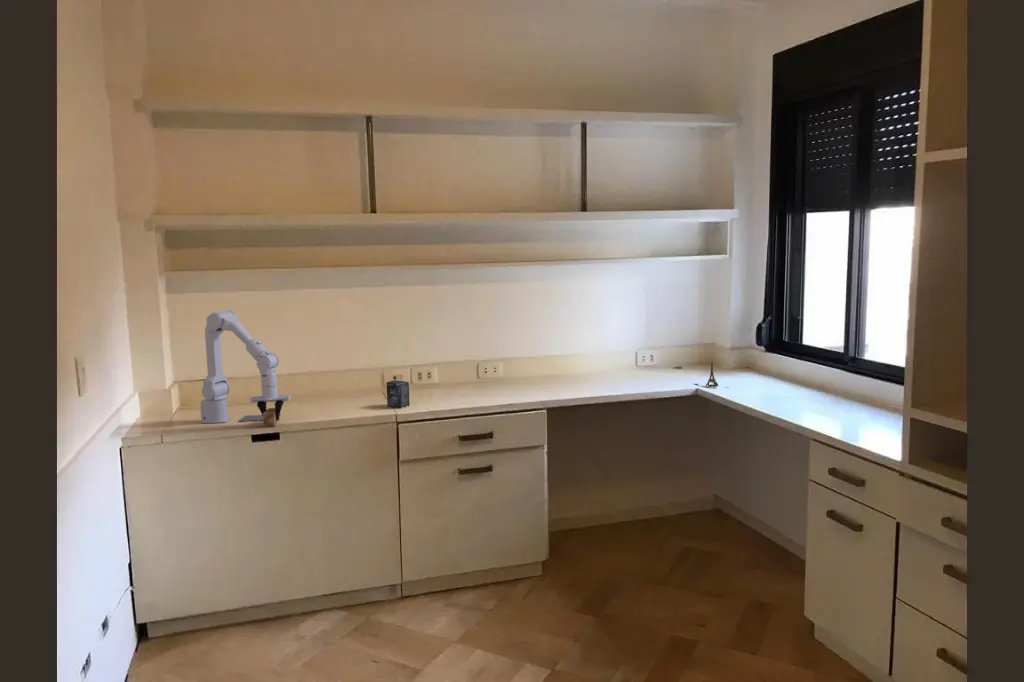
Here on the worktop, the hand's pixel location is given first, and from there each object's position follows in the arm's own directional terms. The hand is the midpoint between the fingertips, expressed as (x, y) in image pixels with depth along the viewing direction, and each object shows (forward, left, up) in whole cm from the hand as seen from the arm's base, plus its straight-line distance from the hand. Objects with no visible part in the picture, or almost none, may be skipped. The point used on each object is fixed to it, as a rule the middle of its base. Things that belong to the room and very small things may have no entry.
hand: (271, 420), depth 294 cm
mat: (-7, +11, -2) cm, 13 cm away
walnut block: (0, 0, -2) cm, 2 cm away
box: (+47, +24, -2) cm, 53 cm away
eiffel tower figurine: (+188, +41, -2) cm, 192 cm away
